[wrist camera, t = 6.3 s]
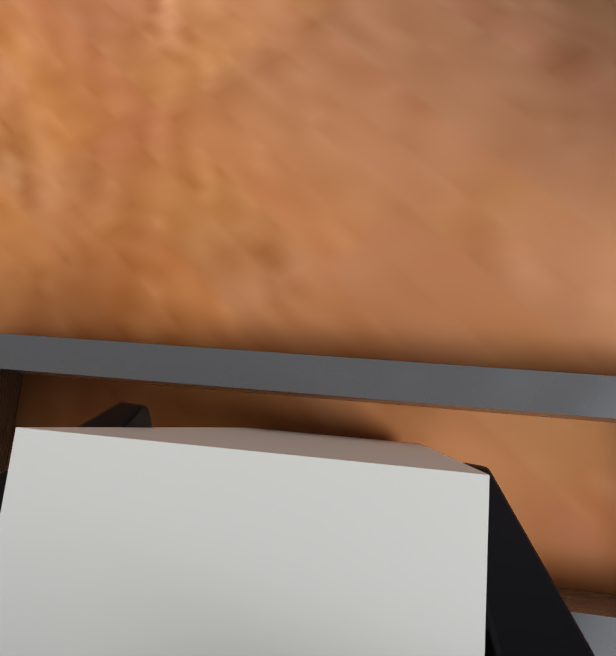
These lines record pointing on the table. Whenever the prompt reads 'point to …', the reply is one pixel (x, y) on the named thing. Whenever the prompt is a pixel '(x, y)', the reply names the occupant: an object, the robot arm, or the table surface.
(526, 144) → the table surface
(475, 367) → the offcut tray
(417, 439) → the table surface
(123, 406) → the robot arm
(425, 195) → the table surface
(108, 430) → the tall white cuboid
